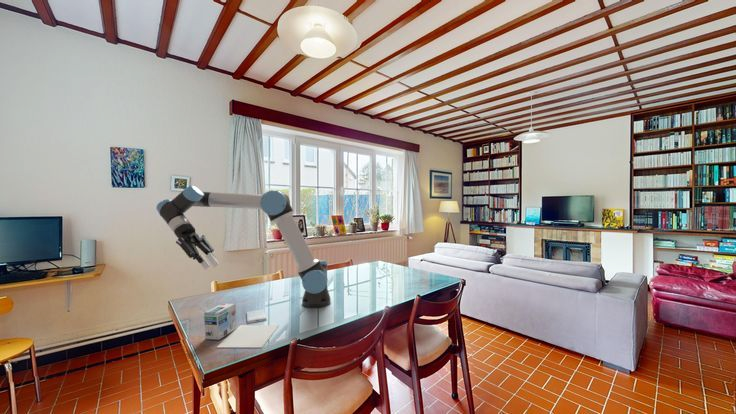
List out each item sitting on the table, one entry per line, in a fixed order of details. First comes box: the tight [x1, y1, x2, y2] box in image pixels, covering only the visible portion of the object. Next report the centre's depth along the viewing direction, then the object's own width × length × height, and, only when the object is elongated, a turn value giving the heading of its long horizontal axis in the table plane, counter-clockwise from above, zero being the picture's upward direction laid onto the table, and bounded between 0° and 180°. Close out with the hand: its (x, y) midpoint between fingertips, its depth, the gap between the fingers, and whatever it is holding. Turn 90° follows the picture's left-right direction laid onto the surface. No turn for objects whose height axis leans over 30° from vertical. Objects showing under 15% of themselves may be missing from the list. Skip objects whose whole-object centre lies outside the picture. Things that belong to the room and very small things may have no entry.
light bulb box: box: [203, 302, 237, 341], centre depth 114 cm, size 11×7×11 cm, turn 168°
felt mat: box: [216, 324, 280, 349], centre depth 112 cm, size 17×19×1 cm
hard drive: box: [246, 308, 268, 324], centre depth 132 cm, size 2×8×12 cm
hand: (212, 266), depth 122 cm, fingers open, 4 cm apart
